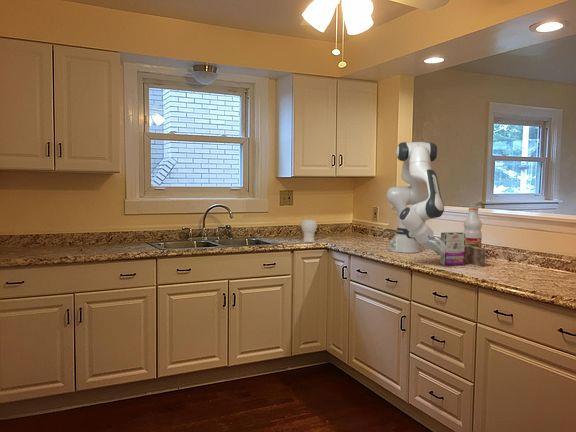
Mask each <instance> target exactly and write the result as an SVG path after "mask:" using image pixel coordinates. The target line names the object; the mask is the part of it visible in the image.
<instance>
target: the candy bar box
mask: <svg viewBox="0 0 576 432" xmlns="http://www.w3.org/2000/svg"><path fill="white" fill-rule="evenodd" d="M440 240H441V241H442V242H443V243H444V244H445V245H446V246H447V249H446V250H445V251H444V252H443V253H444V254H443V255H442V256H441V255H440V261H439V262H440V263H439V264H440V265H442V266H444V267H445V266H447V267H448V266H449V267H450V266H464V265H465V263H466V262H465V233H464V231H457V232H456V231H452V232H451V231H449V232H441V233H440Z"/></svg>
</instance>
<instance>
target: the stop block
mask: <svg viewBox="0 0 576 432" xmlns="http://www.w3.org/2000/svg"><path fill="white" fill-rule="evenodd" d="M464 263H468V264H470V265H471V264H472V265H474V266H478V267H481V268H483V267H484V268H485V267H486V248H485V247H484V248H483V247H481V248H480V247H476V246H471V245H467V244H465V262H464Z"/></svg>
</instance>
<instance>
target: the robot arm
mask: <svg viewBox="0 0 576 432" xmlns="http://www.w3.org/2000/svg"><path fill="white" fill-rule="evenodd" d="M395 154H396V158H397V159H398V160H399V161H401V162H402V168H401V174H400V176H401V180H403V182H405V183H406V184H408V185H409V186H405V185H404V186H403V185H399V186H391V187H389V188H388V190H387V191H386V201H387V202H388V203H389V204H390V205H391V206H392V207H393V208H394V209H395V211H396V215H397V227H396V231H395V235H394V236H393V237H392V238H391V240H389V244H390V246H387V247H386V249H387V250H388V251H390V252H393V253H405V254H409V253H419V252H422V248H421V249H420V246H421V247H423V248H424V249H428V250H431V251H432V252H434V253H436V254H437V255H438V256H440V257H441V256H442V255H443V254H444V253H443V252H444V251H445V250H446V249H447V246H446V245H445V244H444V243H443V242H442V241H441V238H439V237H436V236H434V231H433V230H432V228H431V227H430V226H429V225H428V224H426V222H427V221H429V220H432V219H436V218H440V217H442V216H443V214H444V212H445V204H444V202H443V199H442V194H441V190H440V185H439V181H438V176H437V173H436V172H435V171H434V170H433V169H432V162H435V160H436V159H437V157H438V154H439V149H438V145H437V144H436V143H433V142H426V141H425V142H424V141H411V142H407V141H404V142H403V141H402V142H399V144H398V145H397V148H396V151H395ZM424 183H425V184H426V186H425V185H424ZM408 206H410V207H408Z"/></svg>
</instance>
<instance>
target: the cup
mask: <svg viewBox="0 0 576 432" xmlns="http://www.w3.org/2000/svg"><path fill="white" fill-rule="evenodd" d="M300 225H301V226H300V227H301V231H302V233H303V240H302V243H306V242H313V243H315V232H316V231H317V227H318V223H317V220H316V219H302V220H301V224H300Z"/></svg>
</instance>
